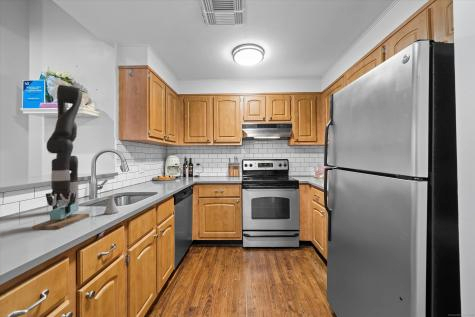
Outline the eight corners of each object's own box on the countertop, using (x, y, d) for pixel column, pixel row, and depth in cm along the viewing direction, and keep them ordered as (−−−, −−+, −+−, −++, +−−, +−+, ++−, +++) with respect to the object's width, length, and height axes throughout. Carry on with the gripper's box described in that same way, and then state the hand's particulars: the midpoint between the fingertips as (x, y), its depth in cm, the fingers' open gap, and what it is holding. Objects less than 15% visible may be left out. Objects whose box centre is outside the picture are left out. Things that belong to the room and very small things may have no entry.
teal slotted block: (50, 219, 116) (49, 211, 116) (67, 211, 129) (67, 203, 129) (61, 219, 116) (60, 211, 116) (77, 210, 129) (76, 203, 129)
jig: (32, 229, 110) (32, 218, 110) (67, 216, 132) (66, 207, 132) (59, 229, 110) (58, 218, 110) (89, 216, 132) (88, 207, 132)
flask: (112, 214, 136) (112, 196, 135) (101, 214, 137) (100, 196, 137) (121, 211, 143) (120, 194, 143) (110, 211, 144) (110, 194, 144)
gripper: (80, 178, 124) (81, 211, 124) (51, 179, 124) (52, 212, 124) (70, 180, 117) (71, 215, 117) (40, 180, 116) (41, 215, 117)
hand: (61, 213), depth 120 cm, fingers closed on teal slotted block, 5 cm apart
